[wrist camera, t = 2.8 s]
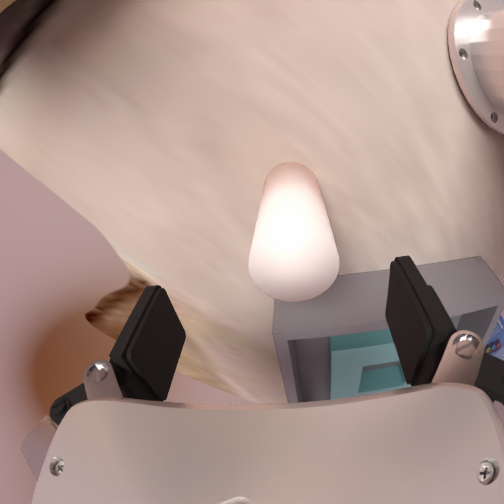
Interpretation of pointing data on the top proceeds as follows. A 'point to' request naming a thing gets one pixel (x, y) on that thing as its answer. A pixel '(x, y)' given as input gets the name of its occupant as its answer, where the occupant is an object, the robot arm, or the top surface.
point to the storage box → (371, 329)
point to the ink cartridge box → (497, 340)
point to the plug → (293, 237)
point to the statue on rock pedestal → (5, 4)
